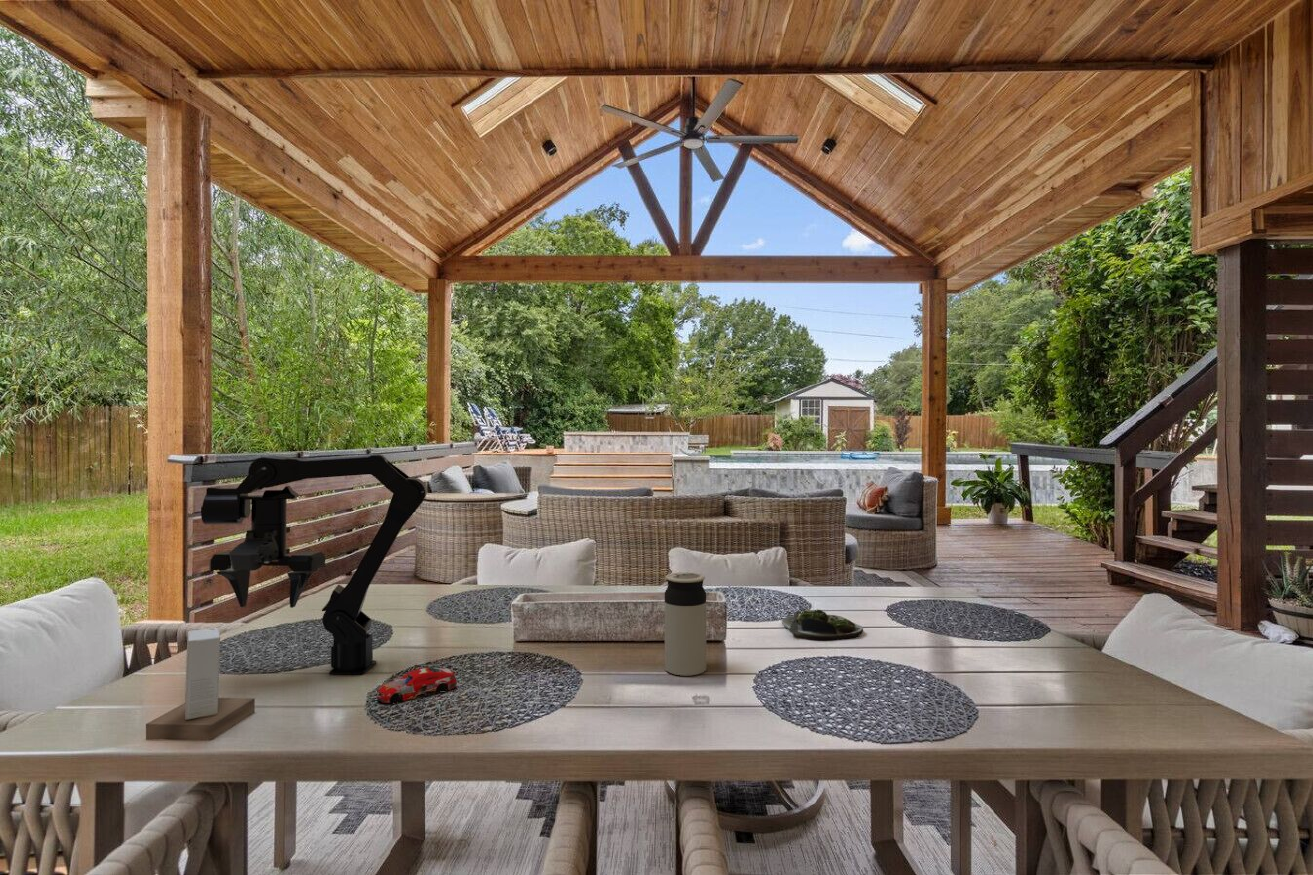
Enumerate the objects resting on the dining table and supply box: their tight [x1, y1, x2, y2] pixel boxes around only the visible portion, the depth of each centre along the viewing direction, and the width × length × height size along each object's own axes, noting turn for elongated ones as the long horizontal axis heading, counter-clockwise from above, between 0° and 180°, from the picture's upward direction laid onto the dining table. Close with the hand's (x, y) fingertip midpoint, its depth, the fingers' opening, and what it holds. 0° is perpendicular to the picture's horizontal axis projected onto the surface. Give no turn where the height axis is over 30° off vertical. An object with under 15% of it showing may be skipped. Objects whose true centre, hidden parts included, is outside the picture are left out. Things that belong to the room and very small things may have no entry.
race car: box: [376, 667, 457, 705], centre depth 117 cm, size 13×5×4 cm, turn 125°
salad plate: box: [781, 608, 864, 642], centre depth 156 cm, size 19×18×5 cm
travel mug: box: [664, 571, 707, 677], centre depth 128 cm, size 8×8×18 cm
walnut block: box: [145, 697, 256, 741], centre depth 104 cm, size 10×10×3 cm
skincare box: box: [184, 627, 221, 720], centre depth 104 cm, size 6×4×12 cm
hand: (267, 606), depth 125 cm, fingers open, 9 cm apart
